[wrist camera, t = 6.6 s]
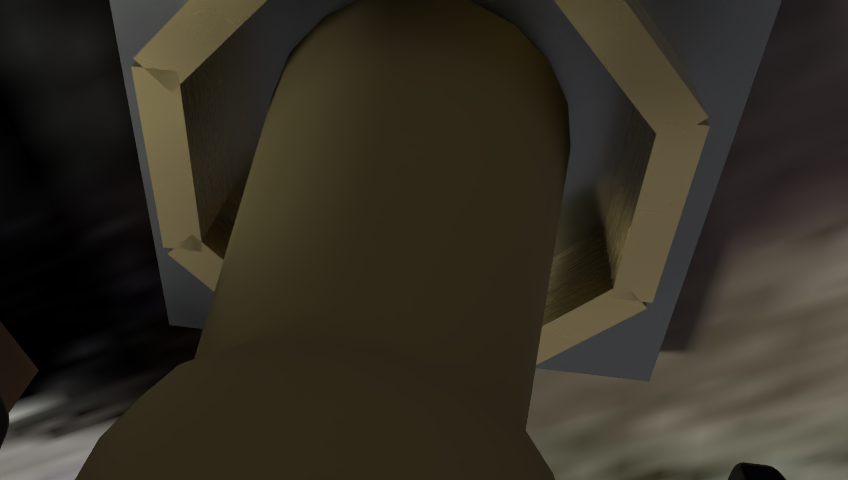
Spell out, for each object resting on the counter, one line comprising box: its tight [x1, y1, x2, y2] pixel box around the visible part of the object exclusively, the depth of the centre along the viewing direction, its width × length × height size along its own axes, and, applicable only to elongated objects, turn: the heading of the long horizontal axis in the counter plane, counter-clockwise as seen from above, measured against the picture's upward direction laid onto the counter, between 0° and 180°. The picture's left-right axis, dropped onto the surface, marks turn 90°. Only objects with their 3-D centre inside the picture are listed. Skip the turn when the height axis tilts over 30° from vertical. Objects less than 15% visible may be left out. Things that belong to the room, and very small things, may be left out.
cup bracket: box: [110, 0, 782, 381], centre depth 15 cm, size 12×12×3 cm
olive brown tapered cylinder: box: [75, 0, 571, 480], centre depth 11 cm, size 6×6×11 cm
